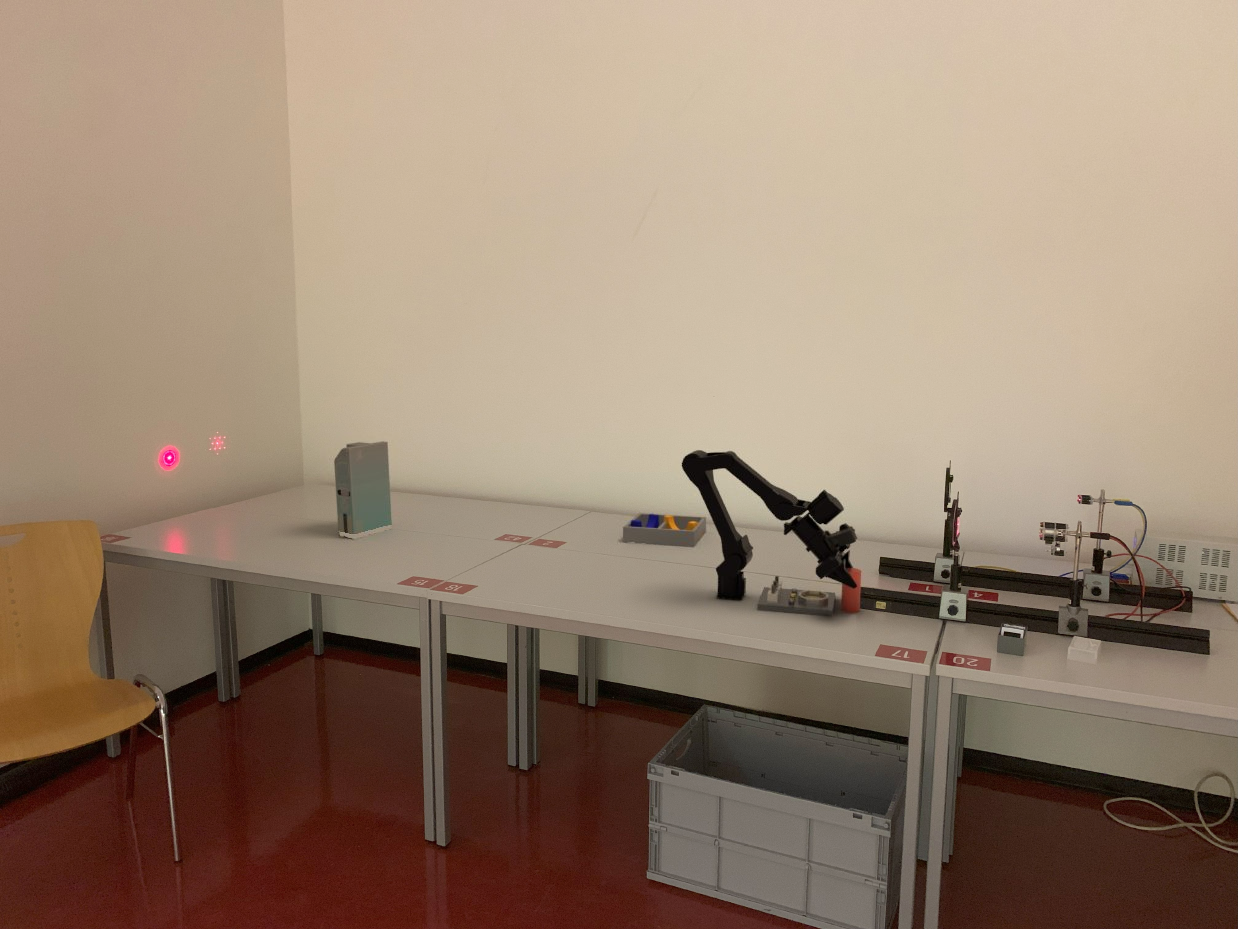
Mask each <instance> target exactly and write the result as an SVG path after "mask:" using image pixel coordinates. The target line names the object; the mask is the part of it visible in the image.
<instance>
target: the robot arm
mask: <svg viewBox="0 0 1238 929" xmlns="http://www.w3.org/2000/svg"><path fill="white" fill-rule="evenodd" d="M681 468H682V470H683V472H684V474H685V475H686V476H687V478H688V480H689V481H690V482H691V483H692V484H693V485H694V486H695V487H696V488H697V489H698V491H699V493H700V495H701V498H702V499H703V503H704V505H705V507H706V509H707V511H708V513H709V515H710V518H711V520H712V522H713V524H714V526H715V529H716V532H717V533H718V535H719V538H720V541H721V542H720V543H721V544H720V545H721V552H722V556H723V561H722V562H720V564H718V566H716V568H715V571H716V573H717V593H716V596H715V598H716V599H720V600H721V599H723V600H736V601H742V599H743V598H744V596H745V595H746V593H747V591H746V590H747V588H746V587H747V578H746V577H744V576H745V571H743V570H744V569H745V568H746V567H747V566H748V564H749V563H750V562H751V561H752V559H753V555H754V554H753V553H754V552H753V550H754V547H753V546H752V544H751V543H750V541H749V536H748V534H745V535H743V536H742V535H741V534H740V533H739V532H738V531H737V528H736V526H735V524H734V522H733V519H732V518H731V516H730V513H729V511H728V509H727V507H726V504H725V503H724V500H723V497H722V496H721V494H720V491H719V489H718V487H717V485H716V482H715V478H714V470H715V471H716V470H723V469H725V470H726V471H728V472H729V473H730V474H731V475H732V476H734V477H735V478H736V479H737V480H739V481H740V482H741V483H742V484H743V485H745V487H746V488H748V489H749V490H751V491H752V492H753V493H754V494H755V495H757V496H758V497H759V498H760V499H761V500H762V501H763V503H764V504H765V506H766V508H767V510H768V511H769V512H770V513H771V514H772V515H773V516H774V517H775V518H776V519H777V520H779V521H782V522H784V521H785V522H784V523H783V535H784V536H787V535H788V534H789V533H790V532H793V534H794V535H795V536H796V537H797V538H798V539H799V540H800V541H801V542H802V544H804V546H805V547H806V548H805V550H806V552H808V553H809V552H811V553H812V554H813V555H814V557H815V558H816V559H817V561H816V562H817V566H816V567H815V575H816V576H817V577H818V578H819V579H820V580H822V579H823V578H827V579H828V578H829V579H830V580H833V581H836V582H837V583H841V585H842V584H845V585H847V586H849V587H851V588H856V587H857V584H856V583H855V581H854V579H853V578H852V577H851V575H850V574H849V572H848V571H847V569H846V568H854V566H853V565H852V563H851V560H850V553H851V550H849V548H851V545H852V544H854V543H856V542H857V539H858V537H857V534H856V529H855V528H854V527H853V526H852V525H849V524H847V523H842V524H840V525H839V529H838V530H837V531H835V532H833V533H831V532H830V531H829V530H824V529H823V528H822V527H821V526H820V525H822V524H823V525H824V526H825V525H828V524H829V523H831V522H832V521H833V520H834V519H835V518H836V517H837V516H839V515H840V514H841V513H843V511H844V510H845V507H844V506H843V504H842V503H841V502H840V500H839V499H838V498H837V497H836V496H834V495H832V494H831V493H829V492H827V490H826V489H823V490H822V491H821V492H820V493H819V494H818V495H817V496H816V497H815V498H813V499H812V501H809V500H804V499H799V498H798V497H797V496H796V495H794V494H792V493H791V492H790V491H787V490H785V489H784V488H781V487H778V486H776V485H774V484H772V483H771V482H770V481H769V480H767V479H766V478H765V477H764V476H762V474H760V473H759V472H757V471H756V470H755V469H754V468H752V467H751V466H750V465H749V464H747V463H746V462H745V461H744V460H743V459H741V458H740V457H739V456H738V455H737V454H736V452H734V451H733V450H728V451H716V452H715V451H713V452H706V451H704V450H700V449H696V450H694V451H692V452H690V453H688V454H686V455H685V456H684V457H683V458H682V462H681ZM806 512H807V513H806ZM805 513H806V514H805ZM803 514H805V515H804V516H803ZM793 518H794V519H793ZM791 519H792V520H791ZM789 520H791V521H790V522H786V521H789ZM846 550H848V551H847V552H845V551H846Z"/></svg>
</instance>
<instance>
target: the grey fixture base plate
mask: <svg viewBox="0 0 1238 929" xmlns="http://www.w3.org/2000/svg"><path fill="white" fill-rule="evenodd" d="M779 578H780V576H778V575H775V577H774V580H772V581H771V585H770V586H769V587H765V586H764V587H763V589H762V592H761V594H760V597H759V599H758V601H757V604H756V605H757V606H756V611H766V612H778V613H789V614H801V615H802V614H803V615H811V616H813V615H815V616H822V617H823V616H825V617H833V615H834V608H835V603H836V602H835V601H836V592H832V591H831V592H830V591H822V590H811V589H809V590H806V589H797V588H792V589H791V588H783V581H782V580H780V579H779Z"/></svg>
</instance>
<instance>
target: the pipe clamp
mask: <svg viewBox="0 0 1238 929" xmlns="http://www.w3.org/2000/svg"><path fill="white" fill-rule="evenodd" d="M666 515H667V516H664V521H665V522H667V529H676V530H680V529H678V528H677V526H676V525H675V523H674V518H673V516H671V515H672V514H666ZM695 526H698V522H695V521H691V522H688V525H687V528H686V529H685V530H693V529H694V527H695ZM700 534H701V531H700Z"/></svg>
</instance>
